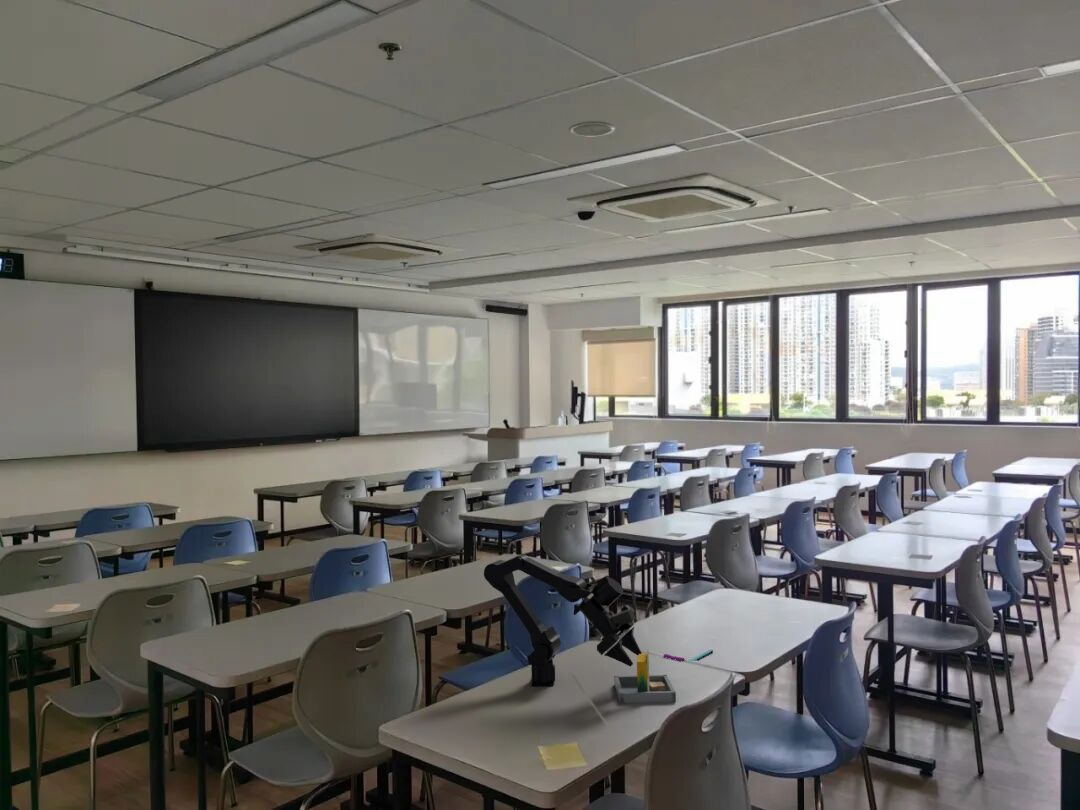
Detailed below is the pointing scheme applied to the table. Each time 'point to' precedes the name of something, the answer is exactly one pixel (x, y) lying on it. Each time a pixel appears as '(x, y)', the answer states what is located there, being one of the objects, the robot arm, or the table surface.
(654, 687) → the wood tile
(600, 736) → the table surface
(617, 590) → the robot arm
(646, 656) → the crayon box
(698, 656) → the bent bar
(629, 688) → the tray
